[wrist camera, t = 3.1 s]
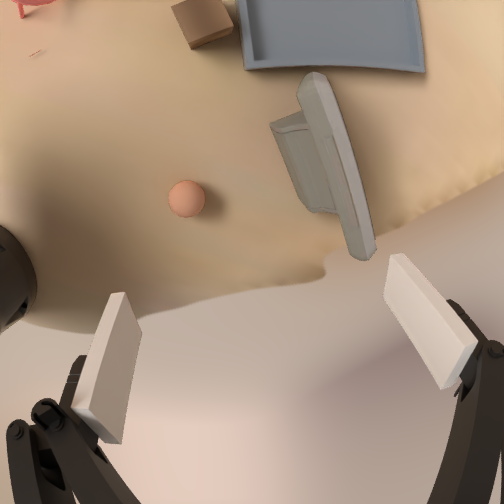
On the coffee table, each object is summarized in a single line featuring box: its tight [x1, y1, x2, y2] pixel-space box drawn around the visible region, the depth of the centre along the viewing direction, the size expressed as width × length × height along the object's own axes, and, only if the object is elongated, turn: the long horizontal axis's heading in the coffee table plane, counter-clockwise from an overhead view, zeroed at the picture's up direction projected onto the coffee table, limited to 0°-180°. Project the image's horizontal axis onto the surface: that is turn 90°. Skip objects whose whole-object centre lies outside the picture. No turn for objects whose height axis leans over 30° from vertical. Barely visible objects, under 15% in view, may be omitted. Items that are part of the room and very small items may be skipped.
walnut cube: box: [171, 0, 234, 49], centre depth 21 cm, size 4×4×4 cm
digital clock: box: [269, 71, 377, 261], centre depth 26 cm, size 16×9×11 cm, turn 12°
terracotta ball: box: [168, 181, 205, 218], centre depth 29 cm, size 4×4×4 cm
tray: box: [235, 0, 425, 73], centre depth 21 cm, size 13×19×2 cm
